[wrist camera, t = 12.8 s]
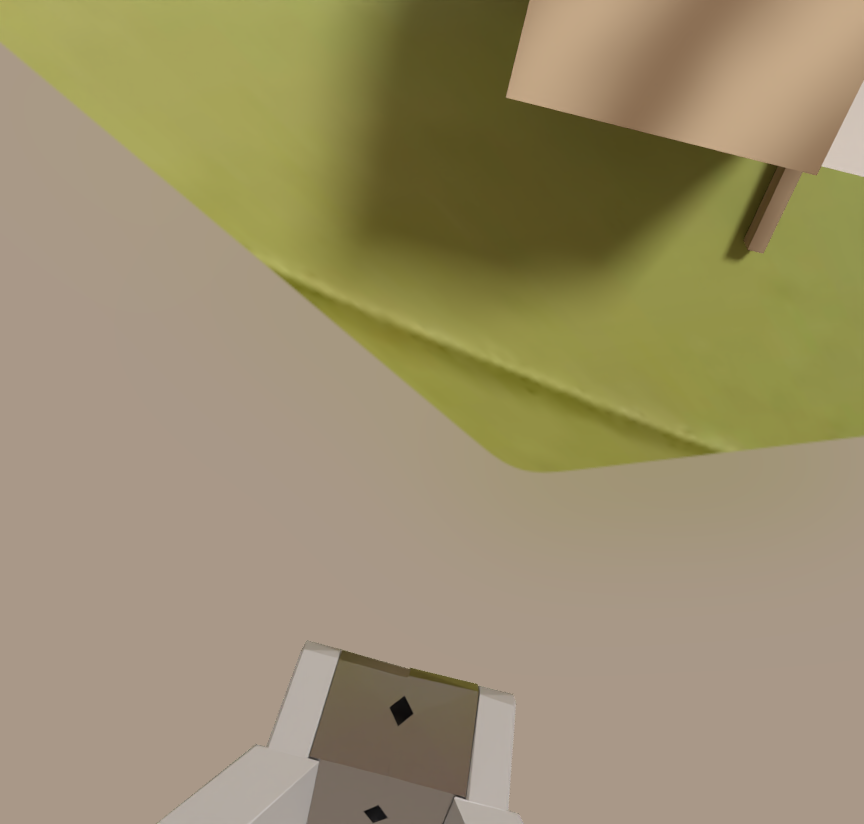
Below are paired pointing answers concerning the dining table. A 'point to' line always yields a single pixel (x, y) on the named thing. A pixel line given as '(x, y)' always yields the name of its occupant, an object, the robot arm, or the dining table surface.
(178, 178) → the dining table surface
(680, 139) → the cabinet
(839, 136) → the door
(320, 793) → the robot arm
